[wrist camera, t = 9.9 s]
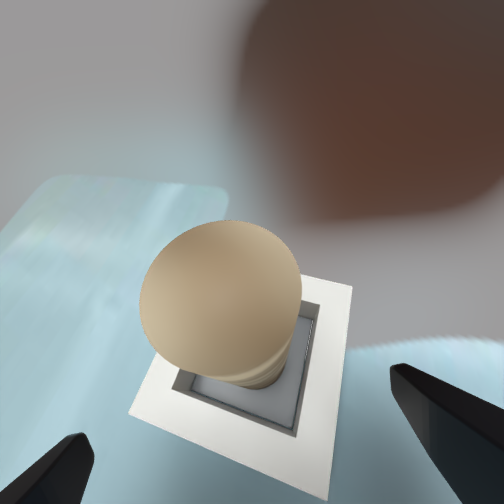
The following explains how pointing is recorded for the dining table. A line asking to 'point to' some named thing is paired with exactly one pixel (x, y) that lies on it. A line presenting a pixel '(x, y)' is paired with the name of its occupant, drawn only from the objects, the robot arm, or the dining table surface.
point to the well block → (266, 399)
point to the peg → (223, 303)
